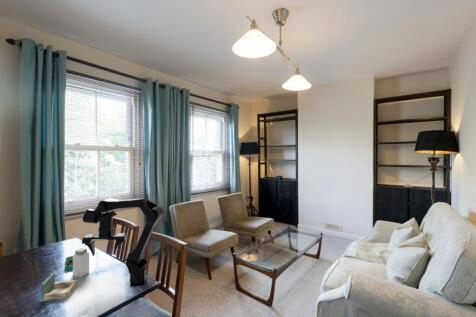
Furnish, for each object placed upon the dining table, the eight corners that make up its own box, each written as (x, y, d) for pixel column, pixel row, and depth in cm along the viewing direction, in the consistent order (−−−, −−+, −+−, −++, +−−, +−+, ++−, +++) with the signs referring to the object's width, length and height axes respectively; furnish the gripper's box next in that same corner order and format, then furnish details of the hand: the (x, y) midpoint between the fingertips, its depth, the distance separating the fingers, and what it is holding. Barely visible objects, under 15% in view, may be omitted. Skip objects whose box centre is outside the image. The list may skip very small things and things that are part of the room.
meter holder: (76, 284, 113) (76, 270, 112) (68, 297, 103) (68, 281, 103) (52, 288, 110) (52, 273, 110) (41, 301, 100) (41, 284, 100)
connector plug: (89, 272, 125) (89, 248, 124) (81, 277, 120) (81, 252, 119) (81, 271, 125) (80, 247, 125) (72, 276, 121) (72, 251, 120)
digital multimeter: (64, 272, 124) (64, 267, 124) (65, 261, 136) (65, 256, 136) (81, 269, 128) (81, 264, 128) (80, 258, 141) (80, 253, 141)
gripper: (128, 219, 127) (127, 247, 127) (89, 219, 122) (88, 249, 122) (125, 225, 116) (123, 256, 117) (82, 226, 111) (80, 259, 111)
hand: (104, 255), depth 117 cm, fingers open, 9 cm apart
